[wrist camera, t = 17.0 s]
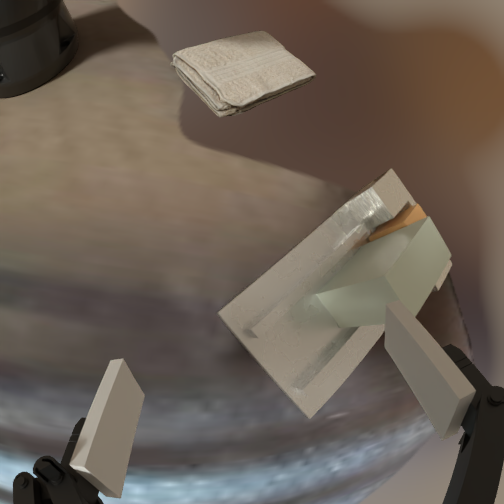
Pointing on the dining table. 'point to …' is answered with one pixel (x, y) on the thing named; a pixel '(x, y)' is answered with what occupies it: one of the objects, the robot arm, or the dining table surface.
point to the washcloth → (240, 72)
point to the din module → (387, 275)
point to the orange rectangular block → (399, 222)
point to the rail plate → (314, 301)
